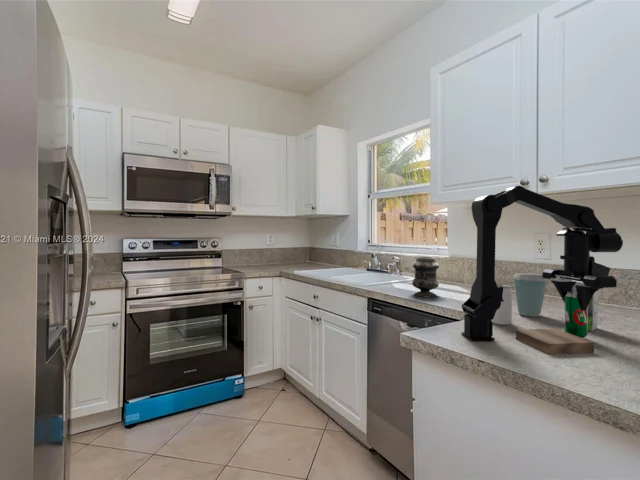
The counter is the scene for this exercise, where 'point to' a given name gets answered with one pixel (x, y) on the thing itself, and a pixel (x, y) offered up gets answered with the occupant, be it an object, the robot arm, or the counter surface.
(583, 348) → the walnut base
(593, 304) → the syrup box
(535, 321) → the counter surface
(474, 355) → the counter surface
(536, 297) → the disposable coffee cup
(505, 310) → the can
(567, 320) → the soda can
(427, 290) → the apothecary jar
